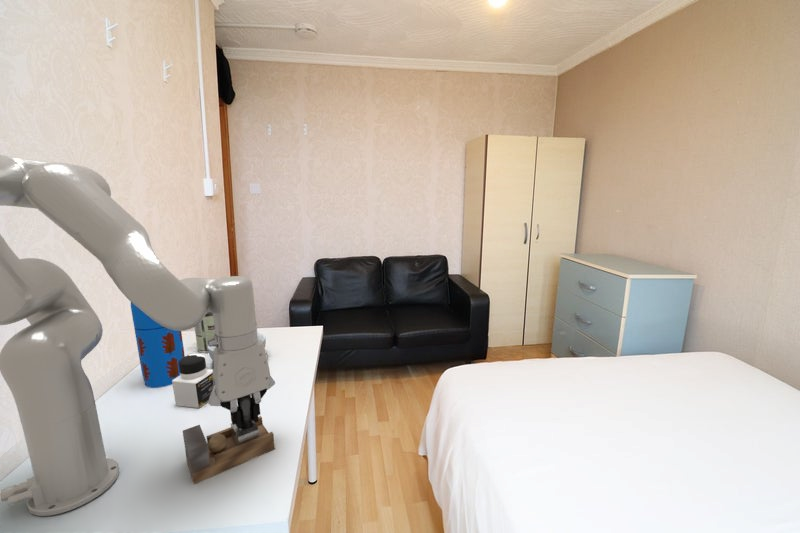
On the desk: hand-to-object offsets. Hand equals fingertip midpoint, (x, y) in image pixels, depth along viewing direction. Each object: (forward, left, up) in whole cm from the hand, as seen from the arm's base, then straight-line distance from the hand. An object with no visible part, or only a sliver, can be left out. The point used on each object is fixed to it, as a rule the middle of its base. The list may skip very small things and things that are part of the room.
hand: (246, 421), depth 76 cm
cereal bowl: (+10, +45, -6) cm, 47 cm away
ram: (-1, 0, -4) cm, 4 cm away
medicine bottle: (-5, +28, -6) cm, 29 cm away
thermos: (-10, +47, -6) cm, 48 cm away
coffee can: (+6, +63, -6) cm, 64 cm away
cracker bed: (-3, 0, -6) cm, 7 cm away
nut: (-6, 0, -4) cm, 7 cm away
